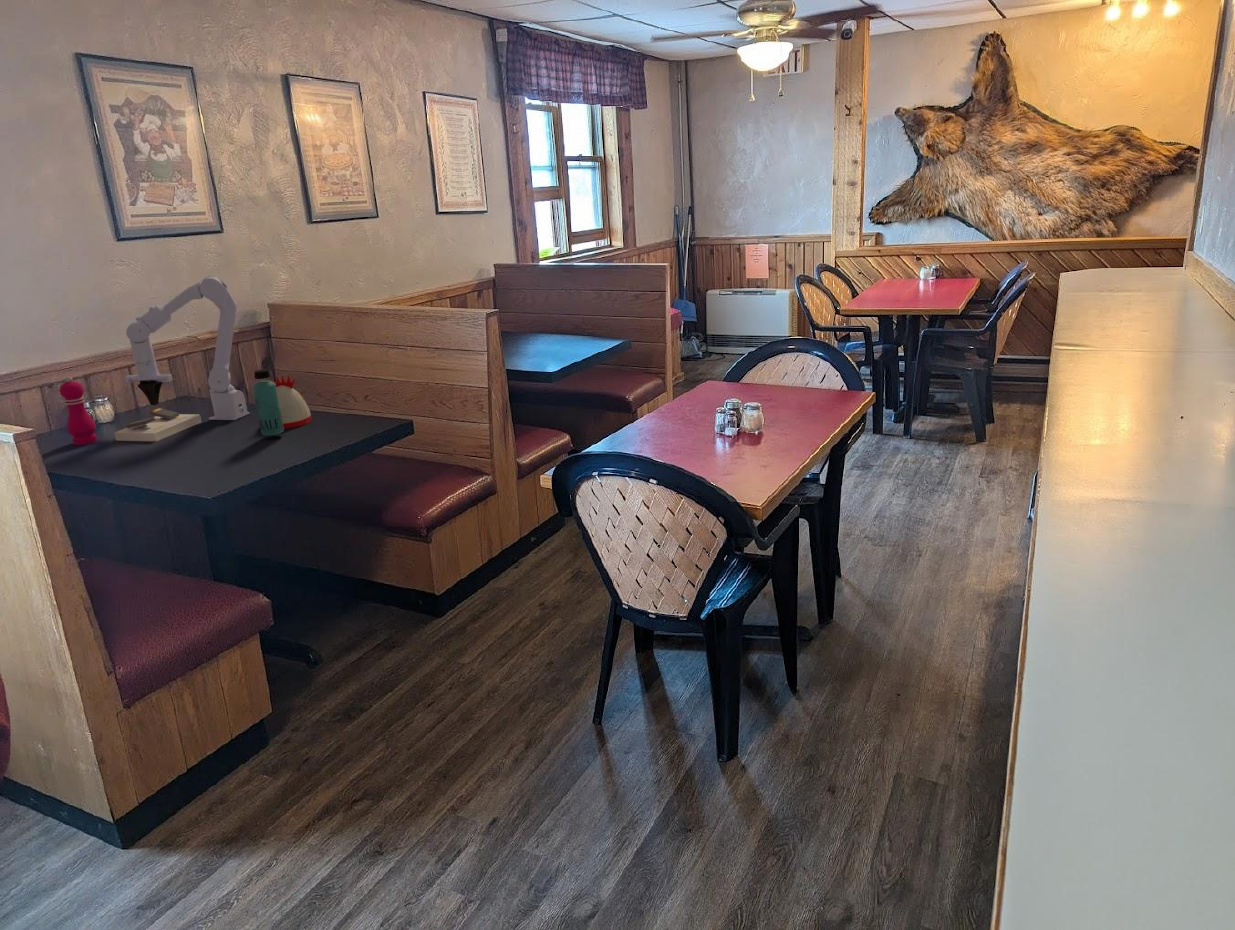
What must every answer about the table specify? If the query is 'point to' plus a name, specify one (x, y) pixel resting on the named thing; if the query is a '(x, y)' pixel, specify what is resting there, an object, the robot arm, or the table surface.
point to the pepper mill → (78, 413)
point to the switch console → (158, 428)
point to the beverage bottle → (267, 404)
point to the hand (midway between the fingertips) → (154, 404)
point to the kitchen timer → (291, 404)
